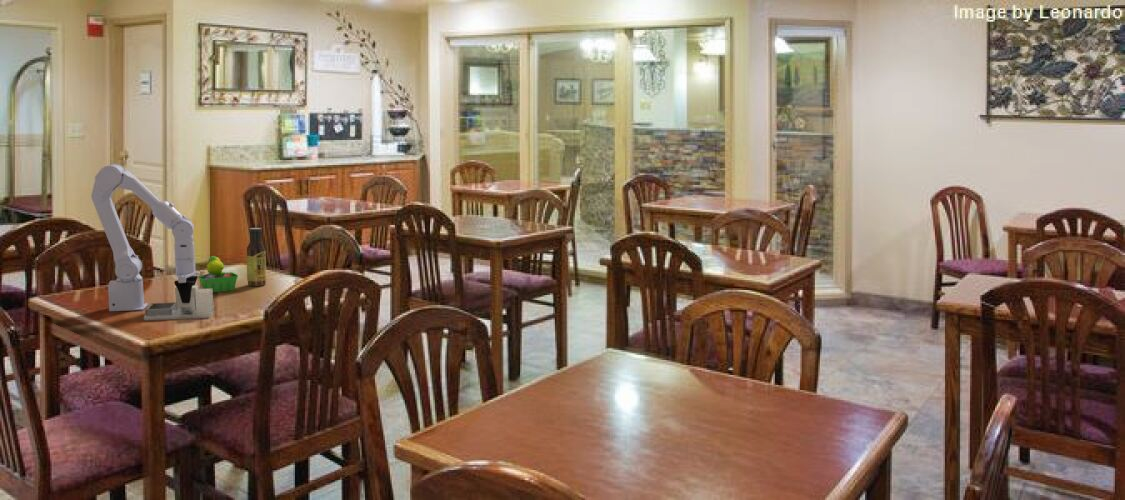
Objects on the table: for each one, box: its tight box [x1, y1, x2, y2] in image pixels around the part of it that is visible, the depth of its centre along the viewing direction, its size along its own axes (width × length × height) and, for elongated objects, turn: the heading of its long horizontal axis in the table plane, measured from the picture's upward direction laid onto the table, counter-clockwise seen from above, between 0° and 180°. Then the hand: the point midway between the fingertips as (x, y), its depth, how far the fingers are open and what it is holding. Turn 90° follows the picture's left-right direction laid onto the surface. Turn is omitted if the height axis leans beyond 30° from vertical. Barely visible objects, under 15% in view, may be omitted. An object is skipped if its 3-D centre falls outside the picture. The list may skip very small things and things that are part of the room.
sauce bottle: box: [246, 227, 267, 287], centre depth 314 cm, size 7×6×20 cm
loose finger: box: [174, 284, 199, 308], centre depth 283 cm, size 4×6×6 cm
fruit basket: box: [197, 255, 239, 293], centre depth 306 cm, size 11×9×11 cm
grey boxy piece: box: [143, 288, 216, 321], centre depth 271 cm, size 18×10×7 cm, turn 103°
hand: (187, 301), depth 283 cm, fingers closed on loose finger, 4 cm apart
